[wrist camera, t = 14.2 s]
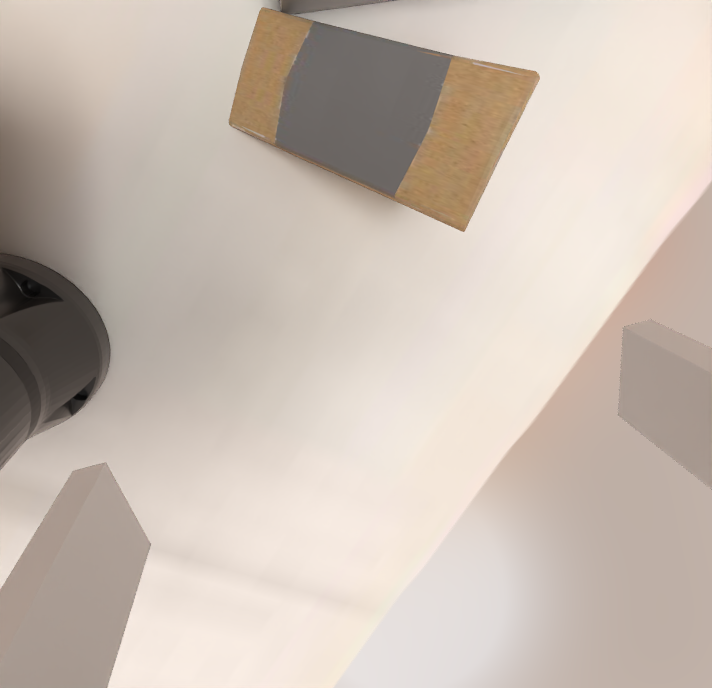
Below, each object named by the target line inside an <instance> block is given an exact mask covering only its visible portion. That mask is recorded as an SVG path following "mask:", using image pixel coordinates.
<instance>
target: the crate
mask: <svg viewBox="0 0 712 688" xmlns="http://www.w3.org/2000/svg"><path fill="white" fill-rule="evenodd" d="M387 1H394V0H279V3H280V9H281V12H282V13H286V14H290V15H291V14H298V13H306V12H313V11H321V10H328V9H335V8H343V7H350V6H358V5H365V4H372V3H380V2H387Z"/></svg>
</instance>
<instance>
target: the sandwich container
mask: <svg viewBox="0 0 712 688" xmlns="http://www.w3.org/2000/svg"><path fill="white" fill-rule="evenodd" d="M539 80H540V76H539V74H538V73H537V72H536V71H531V70H526V69H520V68H515V67H510V66H505V65H500V64H495V63H489V62H484V61H479V60H474V59H469V58H464V57H458V56H453V55H449V54H445V53H441V52H437V51H433V50H428V49H424V48H420V47H416V46H412V45H408V44H404V43H400V42H396V41H392V40H388V39H384V38H380V37H376V36H372V35H368V34H364V33H360V32H356V31H352V30H348V29H344V28H340V27H336V26H332V25H328V24H324V23H320V22H316V21H312V20H308V19H304V18H301V17H297V16H293V15H290V14H286V13H282V12H279V11H275V10H271V9H268V8H264V7H263V8H261V10H260V12H259V15H258V18H257V21H256V24H255V27H254V31H253V34H252V37H251V40H250V43H249V46H248V49H247V53H246V56H245V59H244V62H243V65H242V69H241V73H240V77H239V81H238V85H237V89H236V93H235V98H234V102H233V106H232V110H231V114H230V118H229V125H230V126H232V127H234V128H237V129H239V130H241V131H243V132H245V133H247V134H250V135H252V136H254V137H256V138H258V139H260V140H262V141H265V142H267V143H269V144H271V145H273V146H275V147H278V148H280V149H282V150H284V151H286V152H288V153H290V154H293V155H295V156H297V157H299V158H301V159H303V160H306V161H308V162H310V163H312V164H315V165H317V166H319V167H321V168H323V169H325V170H328V171H330V172H332V173H335V174H337V175H339V176H341V177H343V178H345V179H348V180H350V181H352V182H354V183H357V184H359V185H361V186H363V187H366V188H368V189H370V190H372V191H375V192H377V193H379V194H381V195H383V196H386V197H388V198H390V199H392V200H394V201H397V202H399V203H401V204H403V205H405V206H408V207H410V208H412V209H414V210H416V211H419V212H421V213H423V214H425V215H427V216H430V217H432V218H434V219H436V220H438V221H441V222H443V223H445V224H447V225H449V226H451V227H454V228H456V229H458V230H460V231H463V232H464V231H465V229H466V227H467V225H468V223H469V221H470V219H471V217H472V215H473V213H474V211H475V209H476V207H477V205H478V203H479V200H480V198H481V196H482V194H483V192H484V190H485V188H486V186H487V184H488V182H489V180H490V178H491V176H492V174H493V171H494V169H495V167H496V165H497V163H498V161H499V159H500V157H501V155H502V153H503V151H504V149H505V147H506V145H507V143H508V141H509V139H510V137H511V135H512V133H513V131H514V129H515V127H516V125H517V123H518V121H519V119H520V117H521V115H522V113H523V111H524V109H525V107H526V105H527V103H528V101H529V99H530V97H531V95H532V93H533V91H534V89H535V87H536V85H537V83H538V82H539ZM406 172H407V173H406ZM396 191H397V192H396ZM395 193H396V194H395Z"/></svg>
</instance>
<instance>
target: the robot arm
mask: <svg viewBox="0 0 712 688" xmlns="http://www.w3.org/2000/svg"><path fill="white" fill-rule="evenodd" d="M109 360H110V347H109V340H108V336H107V332H106V329H105V326H104V324H103V322H102V320H101V318H100V316H99V314H98V312H97V311H96V309H95V308H94V306H93V305H92V304H91V302H90V301H89V300H88V299H87V298H86V296H85V295H84V294H83V293H82V292H81V291H80V290H79V289H78V288H76V287H75V286H74V285H73V284H72V283H70V282H69V281H68V280H67V279H65V278H64V277H62V276H61V275H59V274H58V273H56V272H54V271H52V270H51V269H49V268H47V267H45V266H43V265H40V264H38V263H35V262H33V261H30V260H27V259H24V258H20V257H16V256H12V255H6V254H0V470H1V469H2V468H3V466H4V465H5V464H6V463H7V462H8V461H9V459H10V458H11V457H12V456H13V455H14V454H15V453H16V451H17V450H18V449H19V448H20V446H21V445H22V444H23V443H24V442H25V441H26V440H27V439H29V438H31V437H33V436H35V435H37V434H39V433H41V432H43V431H45V430H47V429H49V428H51V427H54V426H56V425H58V424H60V423H62V422H64V421H66V420H67V419H69V418H71V417H72V416H73V415H75V414H76V413H77V412H79V411H80V410H81V409H82V408H83V407H84V406H85V405H86V404H87V403H88V402H89V401H90V399H91V398H92V397H93V395H94V394H95V393H96V391H97V390H98V389H99V387H100V386H101V384H102V383H103V381H104V378H105V376H106V374H107V370H108V366H109ZM618 416H619V417H621V418H622V419H623V420H624V421H626V422H627V423H628V424H630V425H631V426H632V427H633V428H635V429H636V430H637V431H639V432H640V433H641V434H642V435H643V436H645V437H646V438H647V439H649V440H650V441H651V442H652V443H654V444H655V445H656V446H657V447H659V448H660V449H661V450H662V451H664V452H665V453H666V454H668V455H669V456H670V457H672V458H673V459H674V460H675V461H676V462H678V463H679V464H680V465H681V466H683V467H684V468H685V469H686V470H688V471H689V472H690V473H691V474H693V475H694V476H695V477H697V478H698V479H699V480H701V481H702V482H703V483H704V484H705V485H707V486H708V487H709V488H710V489H712V348H711V347H709V346H706V345H704V344H702V343H700V342H698V341H696V340H693V339H691V338H689V337H687V336H685V335H683V334H681V333H679V332H676V331H674V330H672V329H670V328H668V327H666V326H664V325H662V324H659V323H657V322H655V321H653V320H647V321H643V322H640V323H636V324H632V325H628V326H624V327H623V337H622V355H621V373H620V389H619V407H618ZM150 546H151V544H150V542H149V540H148V538H147V536H146V535H145V533H144V531H143V529H142V527H141V525H140V524H139V522H138V520H137V518H136V516H135V515H134V513H133V511H132V509H131V507H130V506H129V504H128V502H127V500H126V498H125V496H124V495H123V493H122V491H121V489H120V487H119V486H118V484H117V482H116V480H115V478H114V476H113V475H112V473H111V471H110V469H109V467H108V466H107V464H106V462H105V463H102V464H98V465H94V466H90V467H86V468H83V469H79V470H75V471H73V472H72V473H71V475H70V477H69V478H68V480H67V482H66V483H65V485H64V487H63V488H62V490H61V491H60V493H59V495H58V496H57V498H56V500H55V501H54V503H53V505H52V506H51V508H50V509H49V511H48V513H47V514H46V516H45V518H44V519H43V521H42V523H41V524H40V526H39V527H38V529H37V531H36V532H35V534H34V536H33V537H32V539H31V541H30V542H29V544H28V545H27V547H26V549H25V550H24V552H23V554H22V555H21V557H20V559H19V560H18V562H17V563H16V565H15V567H14V568H13V570H12V572H11V573H10V575H9V577H8V578H7V580H6V582H5V583H4V585H3V586H2V588H1V590H0V688H107V687H108V683H109V680H110V677H111V673H112V670H113V667H114V664H115V660H116V657H117V654H118V650H119V647H120V644H121V641H122V637H123V634H124V631H125V628H126V624H127V621H128V618H129V614H130V611H131V608H132V605H133V601H134V598H135V595H136V591H137V588H138V585H139V582H140V578H141V575H142V572H143V568H144V565H145V562H146V559H147V555H148V552H149V549H150Z"/></svg>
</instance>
